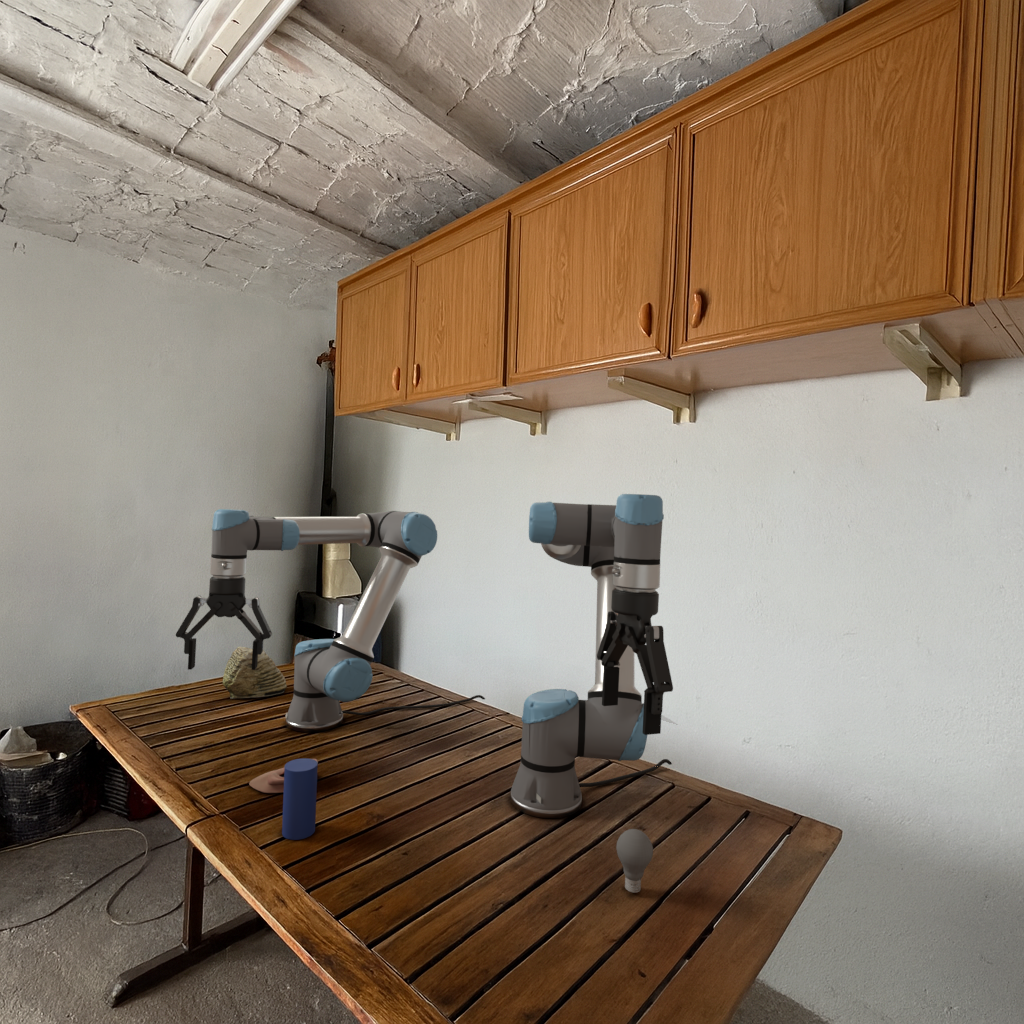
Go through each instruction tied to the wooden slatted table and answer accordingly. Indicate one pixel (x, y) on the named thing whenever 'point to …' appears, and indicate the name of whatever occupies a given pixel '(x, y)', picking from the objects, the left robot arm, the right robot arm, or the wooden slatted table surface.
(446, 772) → the wooden slatted table surface
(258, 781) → the anatomical model
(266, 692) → the fossil
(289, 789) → the cylinder
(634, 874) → the light bulb
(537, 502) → the right robot arm
